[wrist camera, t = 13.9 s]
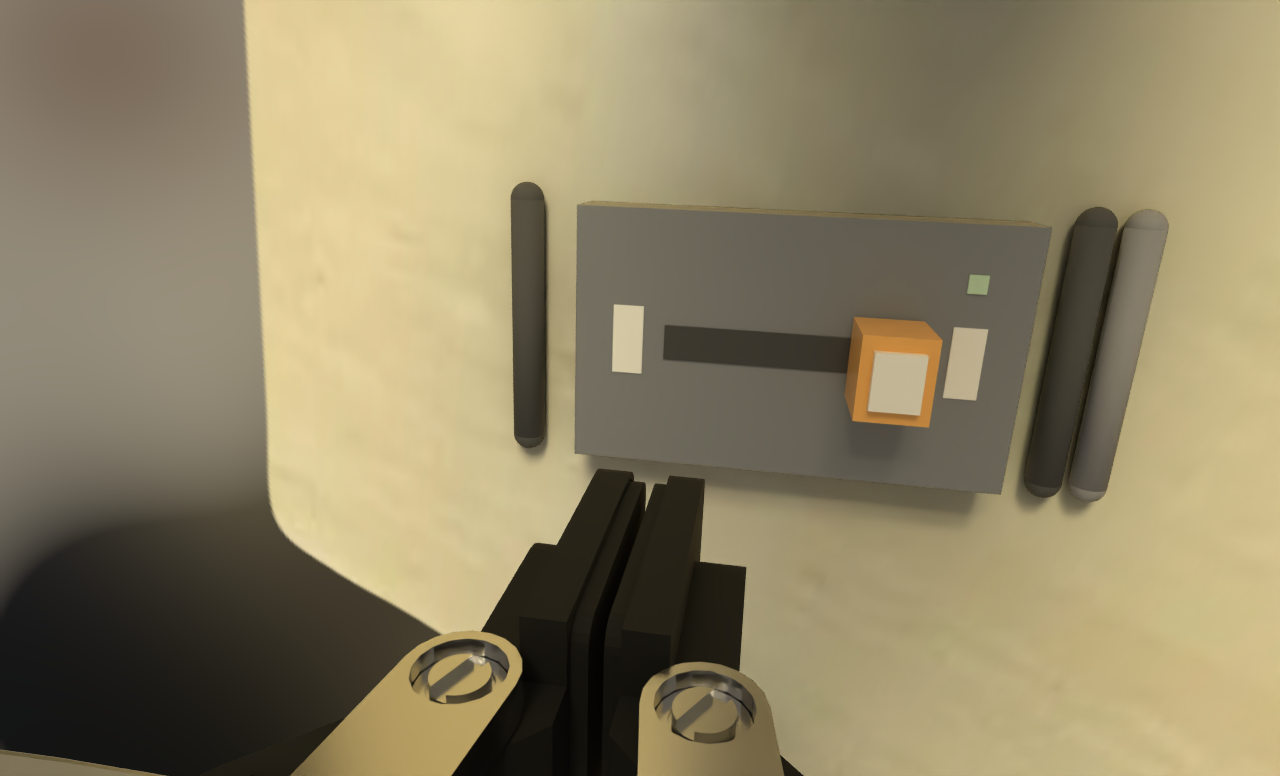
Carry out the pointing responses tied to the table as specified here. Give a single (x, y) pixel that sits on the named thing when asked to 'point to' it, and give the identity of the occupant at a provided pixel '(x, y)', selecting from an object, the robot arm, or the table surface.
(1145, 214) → the light grey rod
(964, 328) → the slider switch box
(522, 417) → the dark grey rounded rod
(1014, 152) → the table surface
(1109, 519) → the table surface
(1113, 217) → the grey capsule
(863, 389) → the block
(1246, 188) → the table surface
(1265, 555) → the table surface
